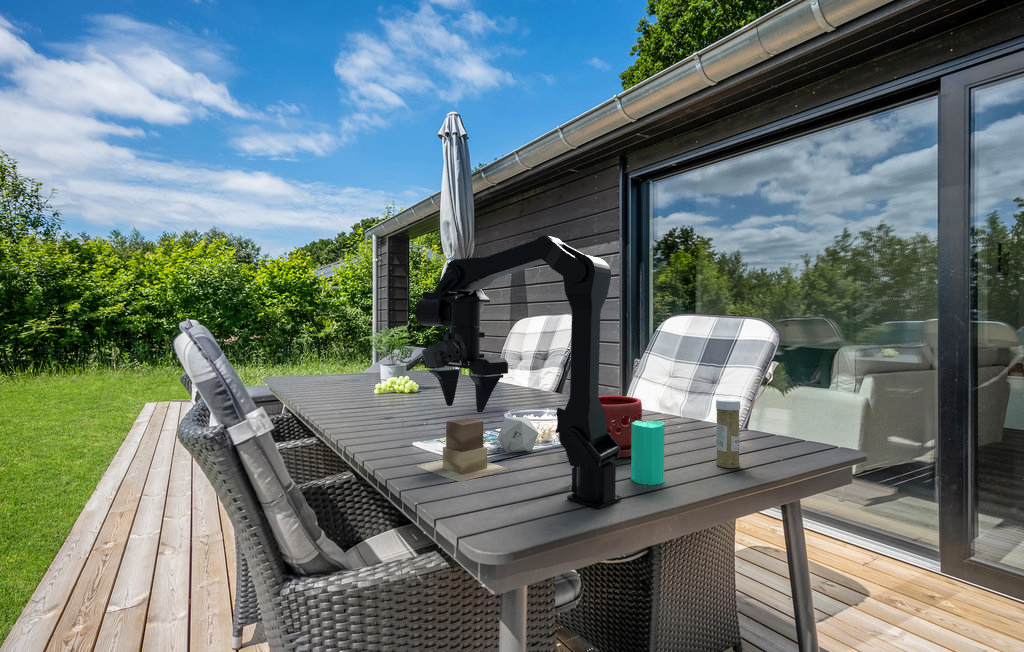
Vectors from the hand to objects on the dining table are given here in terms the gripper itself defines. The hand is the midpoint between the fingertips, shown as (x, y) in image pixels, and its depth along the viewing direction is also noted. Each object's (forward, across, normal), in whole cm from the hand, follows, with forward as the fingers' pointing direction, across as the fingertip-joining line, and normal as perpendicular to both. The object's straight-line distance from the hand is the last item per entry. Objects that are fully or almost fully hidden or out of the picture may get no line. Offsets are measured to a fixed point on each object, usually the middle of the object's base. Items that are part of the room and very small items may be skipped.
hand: (464, 408), depth 101 cm
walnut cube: (+7, 0, 0) cm, 7 cm away
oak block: (+11, 0, 0) cm, 11 cm away
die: (+12, -4, +18) cm, 22 cm away
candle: (+12, +26, +22) cm, 36 cm away
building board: (+12, -1, 0) cm, 12 cm away
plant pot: (+12, +10, +33) cm, 37 cm away
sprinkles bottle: (+12, +32, +42) cm, 54 cm away
